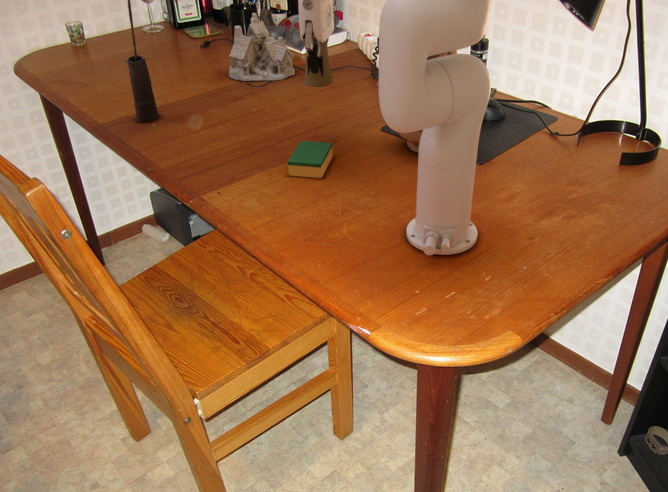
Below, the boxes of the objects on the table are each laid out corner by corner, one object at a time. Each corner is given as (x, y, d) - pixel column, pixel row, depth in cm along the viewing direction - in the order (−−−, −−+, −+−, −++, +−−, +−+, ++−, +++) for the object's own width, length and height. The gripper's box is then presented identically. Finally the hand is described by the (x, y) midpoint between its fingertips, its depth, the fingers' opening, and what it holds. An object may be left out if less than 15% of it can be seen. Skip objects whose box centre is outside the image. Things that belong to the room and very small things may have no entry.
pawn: (298, 84, 136) (294, 30, 129) (314, 75, 140) (310, 22, 133) (323, 89, 134) (320, 34, 127) (338, 79, 138) (335, 25, 131)
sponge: (321, 178, 133) (320, 164, 131) (288, 175, 134) (287, 161, 132) (332, 156, 140) (332, 142, 138) (301, 154, 141) (300, 140, 139)
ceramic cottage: (221, 72, 180) (216, 16, 171) (269, 61, 189) (267, 7, 179) (253, 91, 172) (250, 33, 162) (302, 78, 181) (302, 22, 171)
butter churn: (135, 131, 151) (103, 4, 134) (118, 119, 157) (85, -5, 139) (171, 121, 156) (144, -4, 138) (154, 109, 161) (126, -12, 144)
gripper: (321, -12, 117) (326, 87, 129) (341, -33, 130) (344, 59, 141) (281, -14, 118) (290, 85, 130) (305, -34, 131) (311, 57, 142)
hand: (318, 71), depth 135 cm, fingers closed on pawn, 3 cm apart
